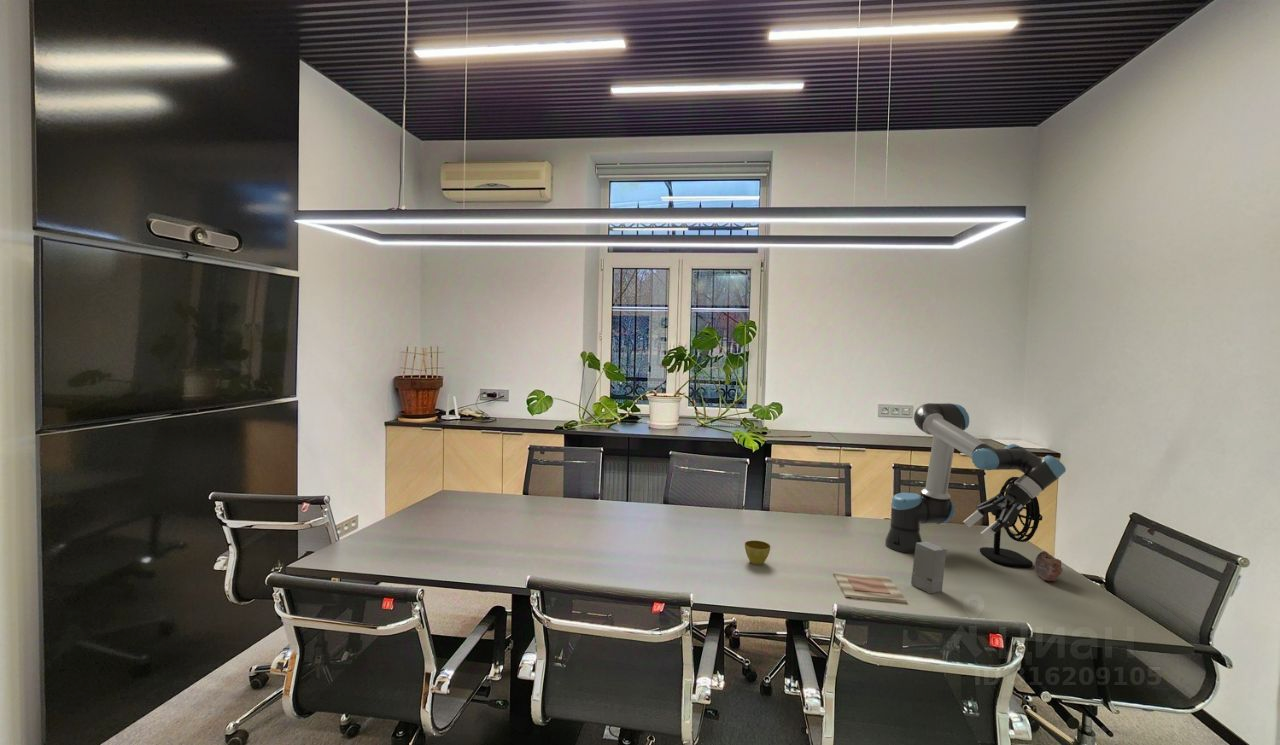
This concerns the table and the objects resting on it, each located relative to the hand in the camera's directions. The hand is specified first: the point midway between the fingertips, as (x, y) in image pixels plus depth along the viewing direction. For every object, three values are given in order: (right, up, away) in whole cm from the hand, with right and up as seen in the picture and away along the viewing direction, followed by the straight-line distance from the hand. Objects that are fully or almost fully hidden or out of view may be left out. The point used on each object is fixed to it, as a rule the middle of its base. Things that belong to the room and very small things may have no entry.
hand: (974, 530), depth 197 cm
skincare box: (-15, -22, +3) cm, 27 cm away
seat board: (-38, -21, +1) cm, 43 cm away
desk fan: (+36, -23, +36) cm, 56 cm away
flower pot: (-73, -19, +23) cm, 79 cm away
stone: (+39, -24, +16) cm, 48 cm away
